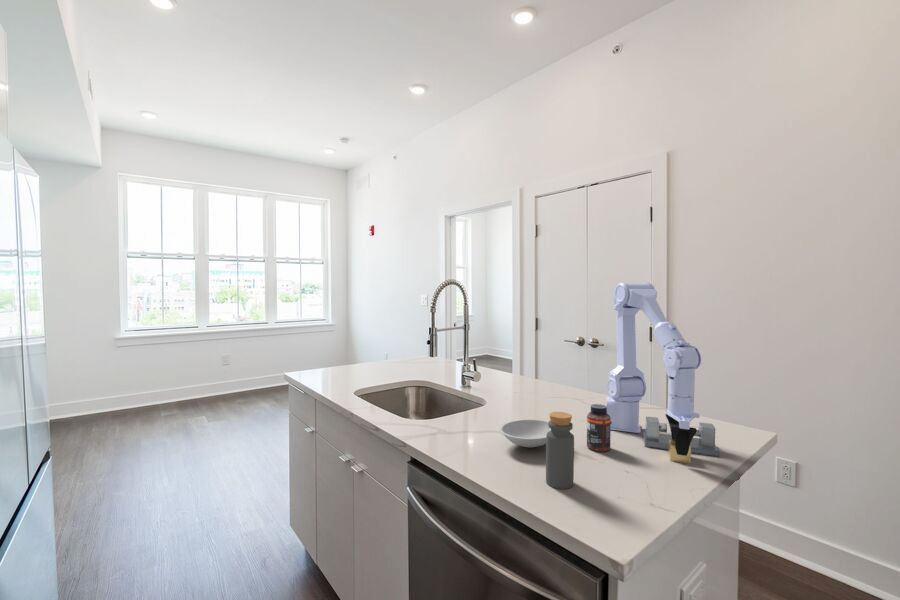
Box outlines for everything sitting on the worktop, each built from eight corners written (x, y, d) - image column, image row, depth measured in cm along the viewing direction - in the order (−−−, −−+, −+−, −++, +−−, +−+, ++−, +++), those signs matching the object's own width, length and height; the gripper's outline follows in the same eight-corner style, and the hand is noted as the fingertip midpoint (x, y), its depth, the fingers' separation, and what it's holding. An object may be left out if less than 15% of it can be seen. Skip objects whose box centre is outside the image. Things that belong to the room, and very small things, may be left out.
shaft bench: (644, 446, 112) (645, 422, 112) (643, 436, 120) (643, 414, 119) (718, 456, 106) (719, 431, 106) (712, 445, 113) (712, 421, 113)
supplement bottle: (609, 445, 113) (610, 404, 112) (610, 454, 107) (611, 410, 107) (586, 442, 115) (587, 401, 114) (586, 450, 109) (587, 407, 109)
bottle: (542, 477, 94) (543, 410, 93) (567, 476, 94) (568, 410, 94) (550, 489, 88) (551, 419, 88) (577, 488, 89) (579, 418, 88)
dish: (533, 432, 123) (533, 415, 122) (573, 448, 111) (573, 429, 110) (486, 445, 113) (487, 426, 112) (524, 464, 101) (525, 443, 101)
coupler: (670, 461, 103) (670, 443, 103) (668, 455, 107) (668, 438, 107) (690, 464, 102) (690, 446, 101) (687, 457, 105) (688, 440, 105)
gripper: (705, 404, 95) (703, 462, 96) (694, 389, 109) (693, 441, 109) (670, 400, 98) (669, 458, 99) (664, 387, 112) (663, 437, 112)
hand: (679, 449), depth 104 cm, fingers open, 7 cm apart
